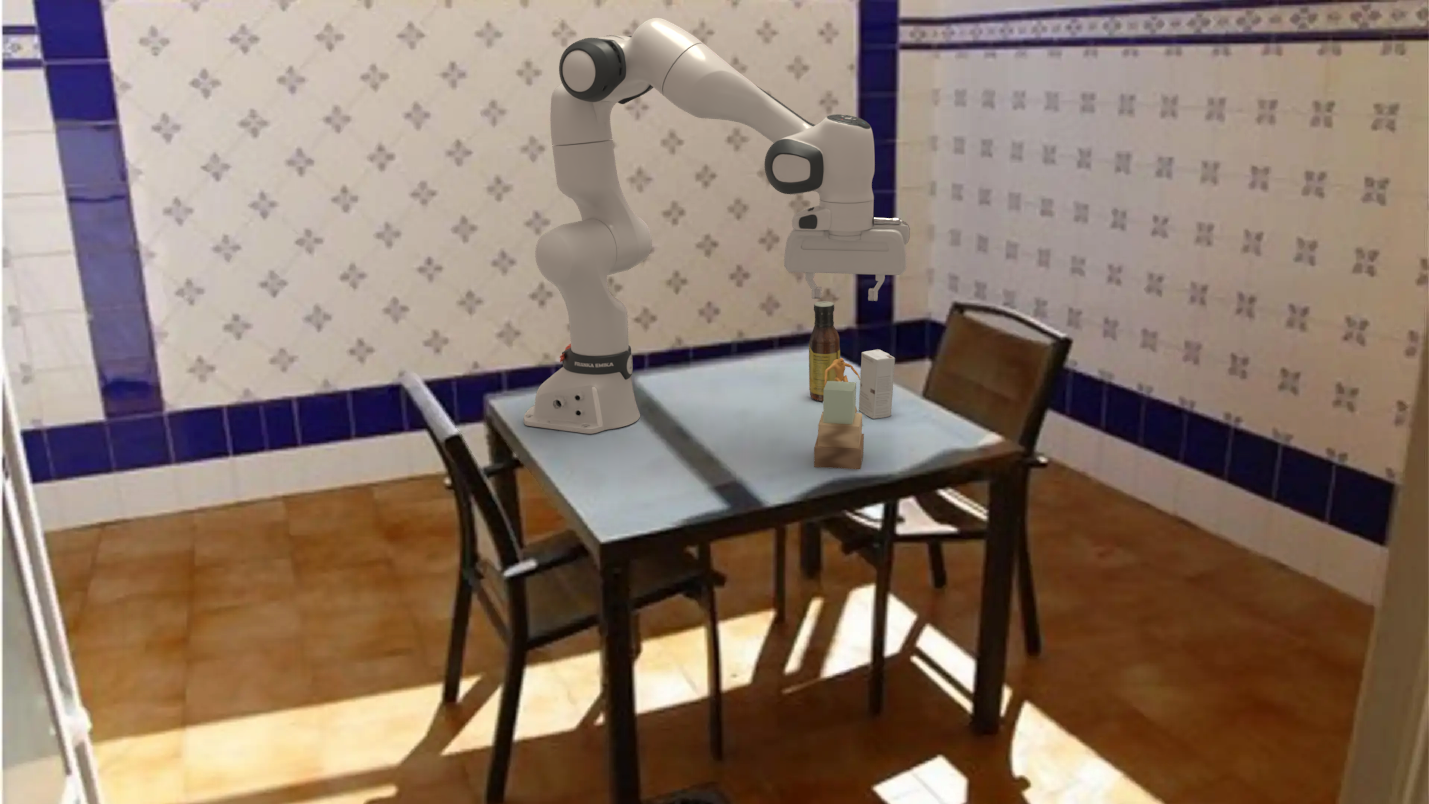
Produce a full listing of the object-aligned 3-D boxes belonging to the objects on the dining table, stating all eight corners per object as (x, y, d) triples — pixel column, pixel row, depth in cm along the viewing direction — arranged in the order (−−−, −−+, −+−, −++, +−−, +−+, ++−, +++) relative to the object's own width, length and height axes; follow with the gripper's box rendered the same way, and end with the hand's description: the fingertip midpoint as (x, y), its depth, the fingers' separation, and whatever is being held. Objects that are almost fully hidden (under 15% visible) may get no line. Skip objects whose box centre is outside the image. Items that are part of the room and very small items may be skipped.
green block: (823, 422, 204) (823, 389, 202) (826, 413, 209) (827, 380, 207) (852, 424, 203) (852, 391, 201) (855, 414, 208) (856, 382, 206)
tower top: (818, 446, 205) (818, 424, 203) (822, 432, 211) (822, 411, 210) (858, 448, 203) (859, 426, 202) (861, 434, 210) (862, 413, 209)
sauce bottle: (822, 391, 245) (823, 297, 239) (846, 397, 241) (848, 302, 235) (802, 398, 241) (802, 303, 235) (826, 405, 237) (827, 308, 231)
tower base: (814, 468, 206) (814, 447, 204) (818, 452, 213) (818, 431, 212) (860, 471, 204) (860, 449, 203) (863, 454, 212) (863, 433, 210)
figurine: (834, 426, 225) (835, 366, 221) (816, 418, 230) (816, 358, 226) (869, 419, 229) (871, 359, 225) (850, 410, 234) (852, 351, 230)
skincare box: (857, 410, 233) (858, 351, 230) (877, 407, 235) (879, 348, 231) (873, 419, 228) (875, 359, 224) (893, 416, 230) (895, 356, 226)
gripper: (911, 214, 196) (908, 296, 200) (788, 212, 200) (787, 292, 204) (909, 221, 190) (906, 305, 194) (782, 218, 194) (782, 301, 198)
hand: (844, 299), depth 199 cm, fingers open, 8 cm apart
